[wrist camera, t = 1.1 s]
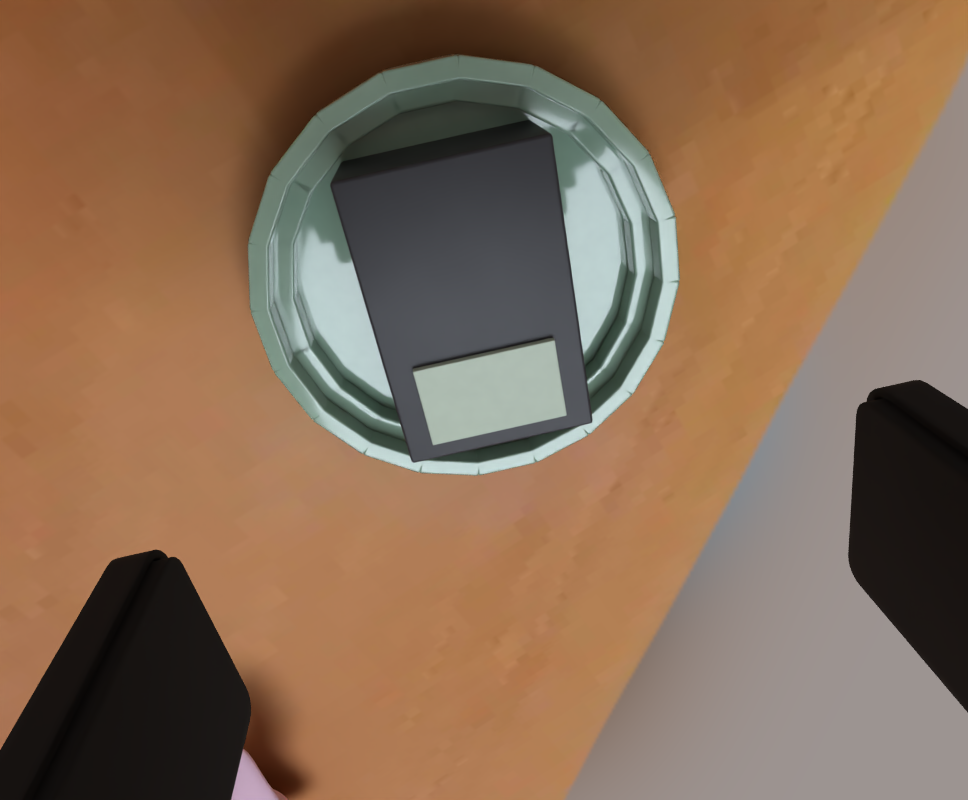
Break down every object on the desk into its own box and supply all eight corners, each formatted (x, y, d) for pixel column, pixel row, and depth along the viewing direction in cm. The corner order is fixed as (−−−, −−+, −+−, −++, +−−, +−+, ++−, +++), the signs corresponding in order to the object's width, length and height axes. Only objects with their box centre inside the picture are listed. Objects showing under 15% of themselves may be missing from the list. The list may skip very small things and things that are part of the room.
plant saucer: (199, 110, 17) (175, 117, 16) (637, 11, 17) (662, 8, 16) (331, 473, 23) (325, 510, 21) (668, 398, 23) (690, 429, 21)
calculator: (339, 161, 18) (327, 184, 15) (530, 118, 18) (554, 133, 15) (410, 411, 21) (411, 468, 19) (570, 376, 21) (595, 427, 19)
